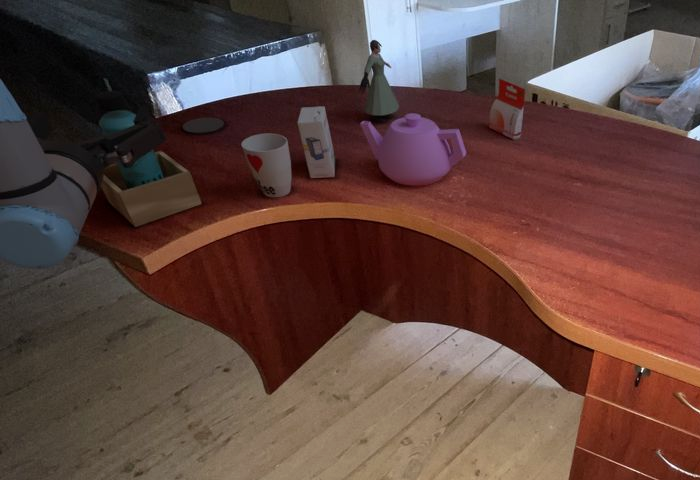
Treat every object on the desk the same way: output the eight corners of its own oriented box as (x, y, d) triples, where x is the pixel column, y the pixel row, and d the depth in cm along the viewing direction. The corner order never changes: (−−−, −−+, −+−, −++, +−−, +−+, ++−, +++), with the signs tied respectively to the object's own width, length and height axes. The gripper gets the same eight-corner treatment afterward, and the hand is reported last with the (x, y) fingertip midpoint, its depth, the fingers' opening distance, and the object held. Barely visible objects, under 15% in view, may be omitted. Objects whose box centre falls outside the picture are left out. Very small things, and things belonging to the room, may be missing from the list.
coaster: (176, 125, 127) (175, 123, 127) (213, 116, 132) (212, 114, 132) (194, 137, 123) (193, 135, 123) (231, 127, 128) (230, 125, 128)
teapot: (472, 162, 121) (473, 107, 112) (457, 195, 109) (457, 137, 101) (378, 150, 123) (372, 96, 114) (354, 182, 111) (345, 123, 103)
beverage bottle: (135, 198, 103) (84, 89, 89) (173, 192, 105) (129, 84, 91) (136, 214, 99) (83, 102, 85) (176, 207, 101) (130, 97, 87)
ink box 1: (334, 178, 112) (324, 121, 104) (309, 179, 111) (296, 122, 103) (336, 160, 118) (326, 105, 110) (311, 160, 117) (300, 105, 109)
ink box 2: (513, 141, 130) (517, 91, 122) (488, 128, 135) (490, 80, 127) (522, 138, 131) (526, 89, 124) (497, 125, 136) (499, 77, 128)
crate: (108, 202, 101) (92, 169, 97) (173, 181, 108) (160, 150, 103) (135, 227, 96) (119, 194, 91) (202, 204, 102) (190, 172, 98)
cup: (249, 188, 107) (234, 139, 100) (288, 177, 111) (276, 130, 104) (265, 205, 103) (251, 155, 96) (305, 193, 107) (294, 144, 100)
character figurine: (382, 134, 129) (373, 53, 116) (351, 129, 130) (339, 47, 118) (409, 111, 140) (404, 34, 128) (380, 106, 141) (372, 30, 129)
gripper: (-37, 218, 67) (16, 147, 82) (180, 197, 74) (194, 134, 88) (-79, 161, 62) (-14, 97, 77) (158, 143, 68) (177, 86, 83)
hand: (97, 117), depth 82 cm, fingers open, 13 cm apart
